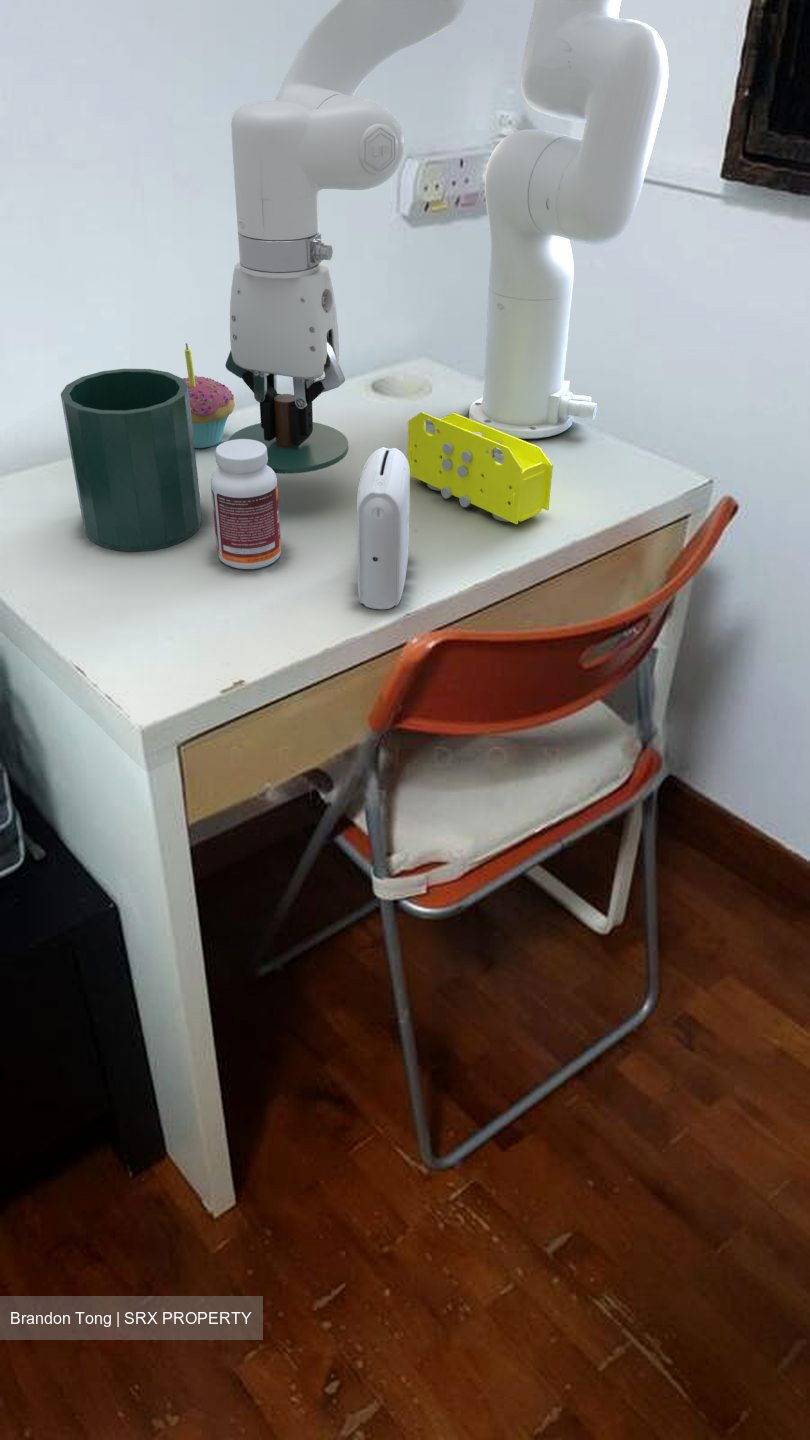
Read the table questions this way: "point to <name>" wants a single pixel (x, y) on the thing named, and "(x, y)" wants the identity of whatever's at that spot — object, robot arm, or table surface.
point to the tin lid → (308, 456)
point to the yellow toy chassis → (479, 466)
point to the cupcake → (207, 406)
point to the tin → (133, 458)
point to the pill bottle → (245, 505)
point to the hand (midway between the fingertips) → (287, 437)
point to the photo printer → (383, 528)
